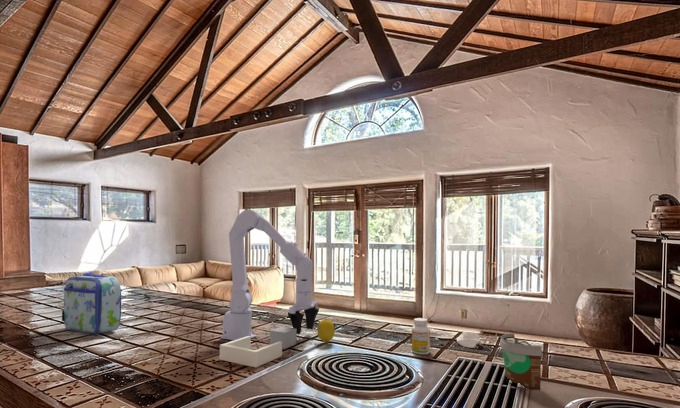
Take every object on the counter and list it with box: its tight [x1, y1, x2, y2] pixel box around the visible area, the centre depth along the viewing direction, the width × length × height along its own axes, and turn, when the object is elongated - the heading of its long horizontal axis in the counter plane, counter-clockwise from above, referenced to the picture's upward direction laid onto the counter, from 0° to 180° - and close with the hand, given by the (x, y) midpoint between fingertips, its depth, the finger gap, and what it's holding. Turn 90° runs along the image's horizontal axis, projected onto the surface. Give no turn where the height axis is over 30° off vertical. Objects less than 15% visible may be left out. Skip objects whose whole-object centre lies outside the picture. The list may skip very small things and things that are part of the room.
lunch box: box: [61, 272, 122, 335], centre depth 141 cm, size 26×11×21 cm, turn 58°
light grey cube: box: [269, 326, 297, 350], centre depth 122 cm, size 6×6×5 cm
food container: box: [499, 332, 543, 391], centre depth 91 cm, size 12×6×10 cm, turn 5°
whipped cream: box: [456, 331, 484, 349], centre depth 122 cm, size 8×7×5 cm
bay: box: [219, 336, 283, 368], centre depth 109 cm, size 14×11×4 cm
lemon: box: [317, 317, 336, 344], centre depth 124 cm, size 6×6×8 cm
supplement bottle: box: [411, 317, 431, 356], centre depth 114 cm, size 5×5×10 cm
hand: (303, 331), depth 131 cm, fingers open, 7 cm apart
